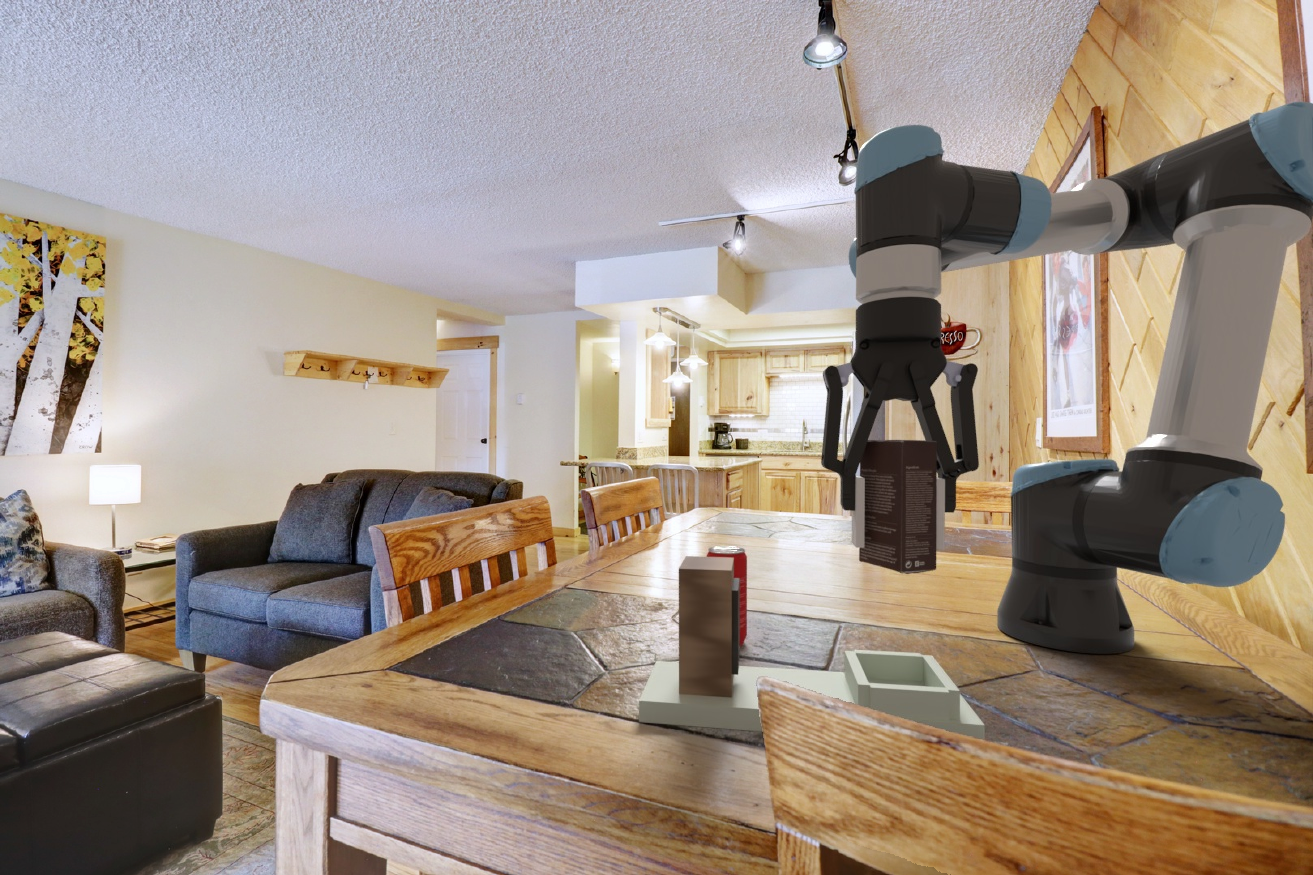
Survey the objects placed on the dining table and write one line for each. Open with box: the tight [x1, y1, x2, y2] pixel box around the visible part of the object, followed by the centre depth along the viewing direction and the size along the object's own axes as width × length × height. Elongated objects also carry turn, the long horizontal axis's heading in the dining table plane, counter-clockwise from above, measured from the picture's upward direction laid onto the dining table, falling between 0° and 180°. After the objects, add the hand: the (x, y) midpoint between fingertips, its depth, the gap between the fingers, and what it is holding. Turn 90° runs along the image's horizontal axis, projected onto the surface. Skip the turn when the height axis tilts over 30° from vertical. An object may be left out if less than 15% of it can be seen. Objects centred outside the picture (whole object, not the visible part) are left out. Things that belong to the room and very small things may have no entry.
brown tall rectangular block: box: [678, 555, 741, 698], centre depth 60 cm, size 6×6×12 cm
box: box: [858, 439, 938, 575], centre depth 58 cm, size 6×4×12 cm
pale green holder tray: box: [638, 649, 986, 741], centre depth 59 cm, size 30×10×4 cm, turn 81°
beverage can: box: [705, 545, 748, 647], centre depth 78 cm, size 5×5×12 cm
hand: (896, 545), depth 58 cm, fingers closed on box, 6 cm apart
